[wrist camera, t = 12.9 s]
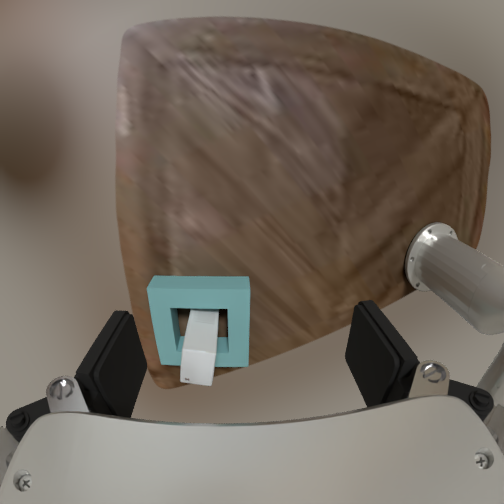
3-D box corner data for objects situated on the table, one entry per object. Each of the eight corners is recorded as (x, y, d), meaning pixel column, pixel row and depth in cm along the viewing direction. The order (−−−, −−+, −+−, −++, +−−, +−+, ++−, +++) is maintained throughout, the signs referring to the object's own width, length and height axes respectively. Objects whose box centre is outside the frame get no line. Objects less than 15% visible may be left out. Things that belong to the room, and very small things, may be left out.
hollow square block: (248, 276, 40) (250, 289, 37) (247, 350, 45) (248, 366, 41) (154, 275, 39) (146, 288, 36) (165, 349, 44) (161, 364, 40)
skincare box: (215, 333, 44) (211, 387, 32) (189, 329, 43) (178, 382, 32) (220, 302, 42) (217, 354, 30) (192, 298, 41) (180, 348, 30)
